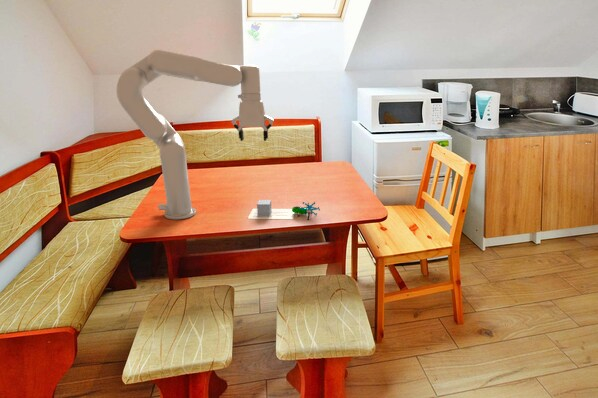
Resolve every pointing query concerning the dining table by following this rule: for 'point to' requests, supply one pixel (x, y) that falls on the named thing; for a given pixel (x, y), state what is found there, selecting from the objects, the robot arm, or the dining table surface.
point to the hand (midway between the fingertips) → (253, 140)
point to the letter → (273, 214)
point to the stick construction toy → (305, 210)
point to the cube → (264, 208)
